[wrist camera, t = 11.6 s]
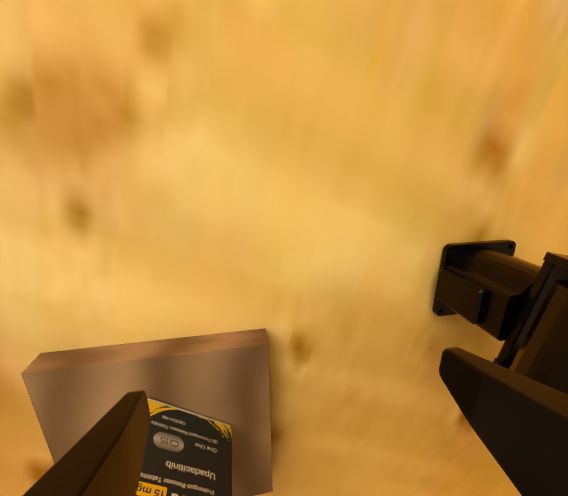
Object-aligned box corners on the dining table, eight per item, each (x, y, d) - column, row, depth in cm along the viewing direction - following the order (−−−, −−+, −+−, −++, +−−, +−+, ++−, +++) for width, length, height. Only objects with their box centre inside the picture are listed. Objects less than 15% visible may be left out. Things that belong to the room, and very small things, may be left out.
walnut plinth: (265, 328, 23) (268, 344, 21) (269, 468, 28) (272, 491, 26) (40, 353, 20) (21, 373, 18) (90, 503, 25) (79, 531, 23)
